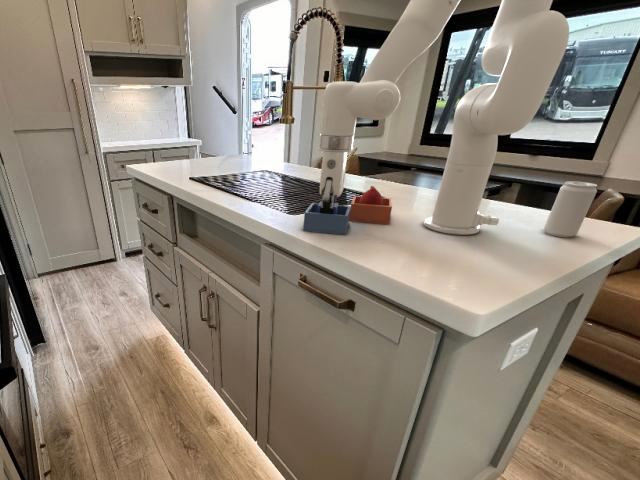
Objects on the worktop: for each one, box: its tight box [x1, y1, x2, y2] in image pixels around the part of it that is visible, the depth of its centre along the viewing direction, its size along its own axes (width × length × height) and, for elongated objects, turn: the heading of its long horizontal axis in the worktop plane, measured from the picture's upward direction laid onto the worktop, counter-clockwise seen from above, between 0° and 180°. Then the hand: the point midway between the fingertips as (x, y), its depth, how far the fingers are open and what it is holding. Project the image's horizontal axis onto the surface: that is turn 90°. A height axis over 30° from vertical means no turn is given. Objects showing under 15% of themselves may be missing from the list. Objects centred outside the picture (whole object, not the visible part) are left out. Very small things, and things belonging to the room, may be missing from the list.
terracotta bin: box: [349, 195, 393, 225], centre depth 99 cm, size 10×10×5 cm
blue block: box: [317, 201, 339, 215], centre depth 91 cm, size 4×4×4 cm
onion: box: [360, 185, 383, 206], centre depth 98 cm, size 6×6×8 cm
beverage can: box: [543, 180, 598, 238], centre depth 84 cm, size 6×6×12 cm
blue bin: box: [302, 202, 351, 236], centre depth 91 cm, size 10×10×5 cm
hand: (326, 220), depth 92 cm, fingers closed on blue block, 4 cm apart
